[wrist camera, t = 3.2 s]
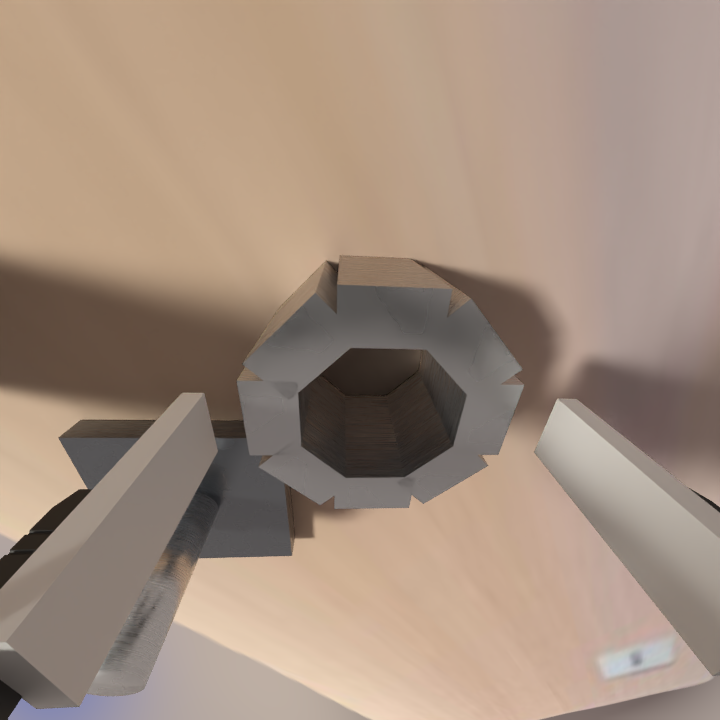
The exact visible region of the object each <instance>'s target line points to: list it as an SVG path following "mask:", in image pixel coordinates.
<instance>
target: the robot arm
mask: <svg viewBox="0 0 720 720" xmlns="http://www.w3.org/2000/svg"><path fill="white" fill-rule="evenodd" d="M217 452H218V449H217V445H216V441H215V436H214V432H213V428H212V423H211V419H210V415H209V411H208V406H207V402H206V398H205V393H181V394H180V395H179V396H178V398H177V399H176V400H175V401H174V402H173V403H172V404H171V405H170V406H169V407H168V408H167V409H166V410H165V412H164V413H163V414H162V415H161V416H160V417H159V418H158V419H157V420H156V421H155V422H154V423H153V425H152V426H151V427H150V428H149V429H148V430H147V431H146V432H145V433H144V434H143V435H142V436H141V438H140V439H139V440H138V441H137V442H136V443H135V444H134V445H133V446H132V447H131V448H130V449H129V450H128V452H127V453H126V454H125V455H124V456H123V457H122V458H121V459H120V460H119V461H118V462H117V463H116V465H115V466H114V467H113V468H112V469H111V470H110V471H109V472H108V473H107V474H106V475H105V476H104V478H103V479H102V480H101V481H100V482H99V483H98V484H97V485H96V486H95V487H94V488H93V489H80V490H78V491H76V492H75V493H73V494H72V495H70V496H69V497H67V498H66V499H65V500H63V501H62V502H60V503H59V504H57V505H56V506H54V507H53V508H52V509H51V510H50V511H49V512H48V513H47V514H46V515H45V516H44V517H43V518H42V519H41V520H40V521H39V522H38V523H37V524H36V525H35V526H34V527H33V528H32V529H31V530H30V533H29V534H28V535H24V536H23V537H22V538H21V539H20V540H19V541H18V542H17V543H16V545H15V546H13V547H12V549H10V553H9V554H8V555H4V556H3V558H1V559H0V720H8V717H9V716H10V714H11V713H12V711H13V710H14V708H15V707H16V705H17V704H18V702H19V701H20V699H21V698H23V699H24V700H25V701H27V702H28V703H29V704H31V705H32V706H33V707H35V708H36V709H44V708H63V707H79V706H80V704H81V703H82V701H83V699H84V697H85V695H86V693H87V692H88V690H89V688H90V686H91V684H92V682H93V681H94V679H95V677H96V675H97V673H98V671H99V669H100V668H101V666H102V664H103V662H104V660H105V658H106V657H107V655H108V653H109V651H110V649H111V647H112V645H113V644H114V642H115V640H116V638H117V636H118V634H119V633H120V631H121V629H122V627H123V625H124V623H125V622H126V620H127V618H128V616H129V614H130V612H131V610H132V609H133V607H134V605H135V603H136V601H137V599H138V598H139V596H140V594H141V592H142V590H143V588H144V587H145V585H146V583H147V581H148V579H149V577H150V575H151V574H152V572H153V570H154V568H155V566H156V564H157V563H158V561H159V559H160V557H161V555H162V553H163V551H164V550H165V548H166V546H167V544H168V542H169V540H170V539H171V537H172V535H173V533H174V531H175V529H176V528H177V526H178V524H179V522H180V520H181V518H182V516H183V515H184V513H185V511H186V509H187V507H188V505H189V504H190V502H191V500H192V498H193V496H194V494H195V492H196V491H197V489H198V487H199V485H200V483H201V481H202V480H203V478H204V476H205V474H206V472H207V470H208V469H209V467H210V465H211V463H212V461H213V459H214V457H215V456H216V454H217ZM534 453H535V454H536V455H537V456H538V458H539V459H540V460H541V462H542V463H543V464H544V465H545V467H546V468H547V469H548V470H549V472H550V473H551V474H552V475H553V477H554V478H555V479H556V480H557V482H558V483H559V484H560V485H561V487H562V488H563V489H564V490H565V492H566V493H567V494H568V495H569V497H570V498H571V499H572V500H573V502H574V503H575V504H576V505H577V507H578V508H579V509H580V510H581V512H582V513H583V514H584V515H585V517H586V518H587V519H588V520H589V522H590V523H591V524H592V526H593V527H594V528H595V529H596V531H597V532H598V533H599V534H600V536H601V537H602V538H603V539H604V541H605V542H606V543H607V544H608V546H609V547H610V548H611V549H612V551H613V552H614V553H615V554H616V556H617V557H618V558H619V559H620V561H621V562H622V563H623V564H624V566H625V567H626V568H627V569H628V571H629V572H630V573H631V574H632V576H633V577H634V578H635V579H636V581H637V582H638V583H639V585H640V586H641V587H642V588H643V590H644V591H645V592H646V593H647V595H648V596H649V597H650V598H651V600H652V601H653V602H654V603H655V605H656V606H657V607H658V608H659V610H660V611H661V612H662V613H663V615H664V616H665V617H666V618H667V620H668V621H669V622H670V623H671V625H672V626H673V627H674V628H675V630H676V631H677V632H678V633H679V635H680V636H681V637H682V638H683V640H684V641H685V642H686V643H687V645H688V646H689V647H690V649H691V650H692V651H693V652H694V654H695V655H696V656H697V657H698V659H699V660H700V661H701V662H702V664H703V665H704V666H705V667H706V669H707V670H708V671H709V672H710V674H711V675H712V676H716V675H720V507H718V506H717V505H716V504H715V503H713V502H712V501H710V500H709V499H707V498H705V497H704V496H702V495H700V494H698V493H697V492H695V491H693V490H692V489H690V488H688V487H687V486H685V485H684V484H683V483H682V482H680V481H679V480H678V479H677V478H675V477H674V476H673V475H672V474H670V473H669V472H668V471H667V470H665V469H664V468H663V467H662V466H660V465H659V464H658V463H656V462H655V461H654V460H653V459H651V458H650V457H649V456H648V455H646V454H645V453H644V452H643V451H641V450H640V449H639V448H638V447H636V446H635V445H634V444H633V443H631V442H630V441H629V440H627V439H626V438H625V437H624V436H622V435H621V434H620V433H619V432H617V431H616V430H615V429H614V428H612V427H611V426H610V425H609V424H607V423H606V422H605V421H604V420H602V419H601V418H600V417H599V416H597V415H596V414H595V413H593V412H592V411H591V410H590V409H588V408H587V407H586V406H585V405H583V404H582V403H581V402H580V401H578V400H577V399H557V401H556V403H555V405H554V407H553V410H552V412H551V414H550V417H549V419H548V421H547V424H546V426H545V428H544V431H543V433H542V435H541V438H540V440H539V442H538V444H537V447H536V449H535V451H534Z"/></svg>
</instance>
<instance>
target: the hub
mask: <svg viewBox="0 0 720 720" xmlns="http://www.w3.org/2000/svg"><path fill="white" fill-rule="evenodd" d="M350 348H376V349H420V350H422V352H421V358H420V364H419V370H418V372H417V373H416V374H414V375H413V376H412V377H410V378H409V379H408V380H406V381H405V382H404V383H402V384H401V385H400V386H398V387H397V388H396V389H394V390H393V391H392V392H390V393H389V394H388V395H386V396H345V395H344V394H343V393H342V392H340V391H339V390H338V389H337V388H336V387H335V386H333V385H332V384H331V383H330V382H329V381H328V380H326V379H325V378H324V377H323V376H322V375H321V373H322V372H323V371H324V370H325V369H327V368H328V367H329V366H330V365H331V364H332V363H334V362H335V361H336V360H337V359H338V358H340V357H341V356H342V355H343V354H344V353H345V352H347V351H348V350H349V349H350ZM242 365H244V366H245V368H244V370H243V371H242V373H241V374H240V376H239V378H238V379H237V386H238V392H239V398H240V403H241V409H242V415H243V420H244V426H245V432H246V437H247V443H248V449H249V454H250V455H262V458H261V461H260V464H259V468H261V469H263V470H264V471H266V472H267V473H269V474H271V475H272V476H274V477H275V478H277V479H279V480H280V481H282V482H283V483H285V484H287V485H288V486H290V487H291V488H293V489H295V490H296V491H298V492H299V493H301V494H303V495H304V496H306V497H308V498H309V499H311V500H312V501H314V502H316V503H317V504H319V505H321V504H323V503H324V502H326V501H327V500H329V499H330V498H332V497H333V496H335V499H334V509H361V508H409V505H410V500H411V495H413V496H414V497H415V498H417V499H418V500H419V501H420V502H422V503H423V504H424V503H426V502H427V501H429V500H431V499H432V498H434V497H436V496H438V495H439V494H441V493H443V492H444V491H446V490H448V489H449V488H451V487H453V486H455V485H456V484H458V483H460V482H461V481H463V480H465V479H466V478H468V477H470V476H472V475H473V474H475V473H477V472H478V471H480V470H482V469H483V468H485V467H487V466H488V465H487V463H486V461H485V459H484V458H483V456H482V455H498V454H499V451H500V449H501V446H502V443H503V441H504V438H505V435H506V433H507V430H508V427H509V425H510V422H511V419H512V417H513V414H514V411H515V409H516V406H517V403H518V400H519V398H520V395H521V392H522V390H523V387H524V384H523V383H522V382H521V381H520V380H519V379H518V378H517V377H516V376H515V374H517V373H518V372H520V371H521V370H523V369H522V368H521V366H520V365H519V363H518V362H517V361H516V359H515V358H514V357H513V355H512V354H511V352H510V351H509V350H508V348H507V347H506V346H505V344H504V343H503V341H502V340H501V339H500V337H499V336H498V334H497V333H496V332H495V330H494V329H493V328H492V326H491V325H490V323H489V322H488V321H487V319H486V318H485V317H484V315H483V314H482V312H481V311H480V310H479V308H478V307H477V306H476V304H475V303H474V301H473V300H472V299H471V298H470V297H468V296H467V295H466V294H464V293H463V292H461V291H460V290H458V289H457V288H455V287H454V286H452V285H451V284H450V283H448V282H447V281H445V280H444V279H442V278H441V277H439V276H438V275H437V274H435V273H434V272H432V271H431V270H429V269H428V268H426V267H425V266H423V265H422V266H420V265H419V264H417V263H416V262H414V261H413V260H412V259H408V258H385V257H363V256H341V255H340V257H339V269H338V273H337V272H336V271H335V270H334V268H333V267H332V266H331V265H330V264H329V263H328V262H327V261H325V262H324V263H323V264H322V265H321V266H320V267H319V268H318V269H317V270H316V271H315V272H314V273H313V274H312V275H311V276H310V277H309V278H308V279H307V280H306V281H305V282H304V283H303V284H302V285H301V286H300V287H299V288H298V289H297V290H296V291H295V292H294V293H293V294H292V295H291V296H290V297H289V298H288V299H287V300H286V301H285V302H284V303H283V304H282V305H281V306H280V307H279V309H278V310H277V312H276V313H275V315H274V316H273V318H272V319H271V321H270V322H269V324H268V325H267V327H266V328H265V330H264V331H263V333H262V334H261V336H260V337H259V339H258V341H257V342H256V344H255V345H254V347H253V348H252V350H251V351H250V353H249V354H248V356H247V357H246V359H245V360H244V362H243V363H242Z"/></svg>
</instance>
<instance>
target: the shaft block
mask: <svg viewBox="0 0 720 720" xmlns="http://www.w3.org/2000/svg"><path fill="white" fill-rule="evenodd" d="M154 422H155V421H144V420H80V421H79V422H78V423H76V424H75V425H74V426H73V427H71V428H70V429H69V430H68V431H66V432H65V433H64V434H63V435H61V436H60V437H59V440H60V441H61V443H62V445H63V447H64V448H65V450H66V452H67V454H68V455H69V457H70V459H71V461H72V462H73V464H74V466H75V467H76V469H77V471H78V473H79V474H80V476H81V478H82V480H83V481H84V483H85V485H86V487H87V488H88V489H93V488H94V487H95V486H96V485H97V484H98V483H99V482H100V481H101V480H102V479H103V478H104V476H105V475H106V474H107V473H108V472H109V471H110V470H111V469H112V468H113V467H114V466H115V465H116V463H117V462H118V461H119V460H120V459H121V458H122V457H123V456H124V455H125V454H126V453H127V452H128V450H129V449H130V448H131V447H132V446H133V445H134V444H135V443H136V442H137V441H138V440H139V439H140V438H141V436H142V435H143V434H144V433H145V432H146V431H147V430H148V429H149V428H150V427H151V426H152V425H153V423H154ZM211 423H212V428H213V432H214V436H215V441H216V445H217V449H218V452H217V454H216V456H215V457H214V459H213V461H212V463H211V465H210V467H209V469H208V470H207V472H206V474H205V476H204V478H203V480H202V481H201V483H200V485H199V487H198V489H197V491H196V492H195V494H194V496H193V498H192V500H191V502H190V504H189V505H188V507H187V509H186V511H185V513H184V515H183V516H182V518H181V520H180V522H179V524H178V526H177V528H176V529H175V531H174V533H173V535H172V537H171V539H170V540H169V542H168V544H167V546H166V548H165V550H164V551H163V553H162V555H161V557H160V559H159V561H158V563H157V564H156V566H155V568H154V570H153V572H152V574H151V575H150V577H149V579H148V581H147V583H146V585H145V587H144V588H143V590H142V592H141V594H140V596H139V598H138V599H137V601H136V603H135V605H134V607H133V609H132V610H131V612H130V614H129V616H128V618H127V620H126V622H125V623H124V625H123V627H122V629H121V631H120V633H119V634H118V636H117V638H116V640H115V642H114V644H113V645H112V647H111V649H110V651H109V653H108V655H107V657H106V658H105V660H104V662H103V664H102V666H101V668H100V669H99V671H98V673H97V675H96V677H95V679H94V681H93V682H92V684H91V686H90V688H89V690H88V692H87V694H92V695H99V696H123V695H130V694H135V693H138V692H140V691H142V690H143V689H144V688H145V686H146V684H147V681H148V679H149V676H150V674H151V672H152V669H153V667H154V664H155V662H156V659H157V657H158V655H159V652H160V650H161V647H162V645H163V643H164V640H165V638H166V635H167V633H168V631H169V628H170V626H171V623H172V621H173V619H174V616H175V614H176V611H177V609H178V607H179V604H180V602H181V599H182V597H183V595H184V592H185V590H186V587H187V585H188V583H189V580H190V578H191V575H192V573H193V571H194V568H195V566H196V563H197V561H198V559H199V558H225V557H263V556H292V552H293V546H294V539H295V532H294V521H293V510H292V499H291V489H290V486H288V485H287V484H285V483H283V482H282V481H280V480H279V479H277V478H275V477H274V476H272V475H271V474H269V473H267V472H266V471H264V470H263V469H261V468H259V464H260V461H261V458H262V455H250V454H249V449H248V443H247V437H246V432H245V426H244V421H211Z"/></svg>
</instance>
